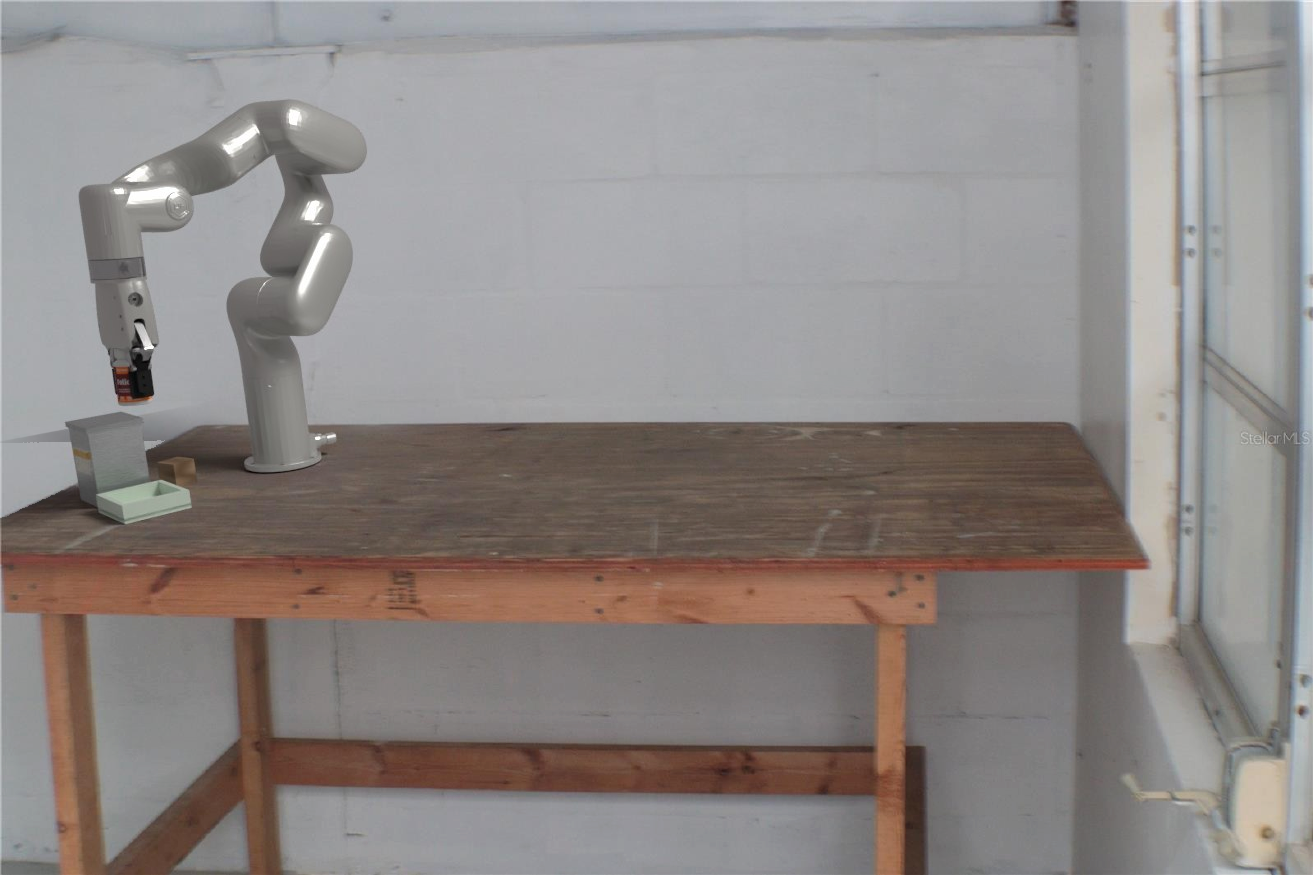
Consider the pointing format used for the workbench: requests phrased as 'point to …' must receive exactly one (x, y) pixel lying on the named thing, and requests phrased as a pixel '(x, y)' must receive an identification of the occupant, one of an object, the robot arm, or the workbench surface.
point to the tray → (143, 501)
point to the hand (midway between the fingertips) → (134, 394)
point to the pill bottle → (125, 380)
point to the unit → (108, 453)
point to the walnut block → (177, 471)
